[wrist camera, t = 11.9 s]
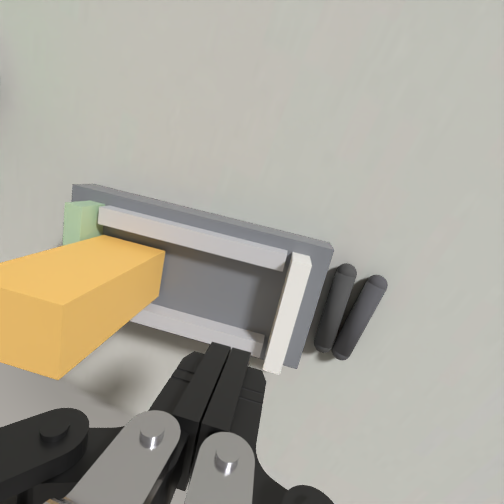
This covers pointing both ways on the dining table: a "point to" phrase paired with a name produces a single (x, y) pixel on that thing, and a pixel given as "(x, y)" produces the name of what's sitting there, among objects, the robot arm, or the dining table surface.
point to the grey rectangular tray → (214, 272)
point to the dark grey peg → (335, 307)
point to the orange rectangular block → (72, 300)
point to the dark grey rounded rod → (359, 316)
